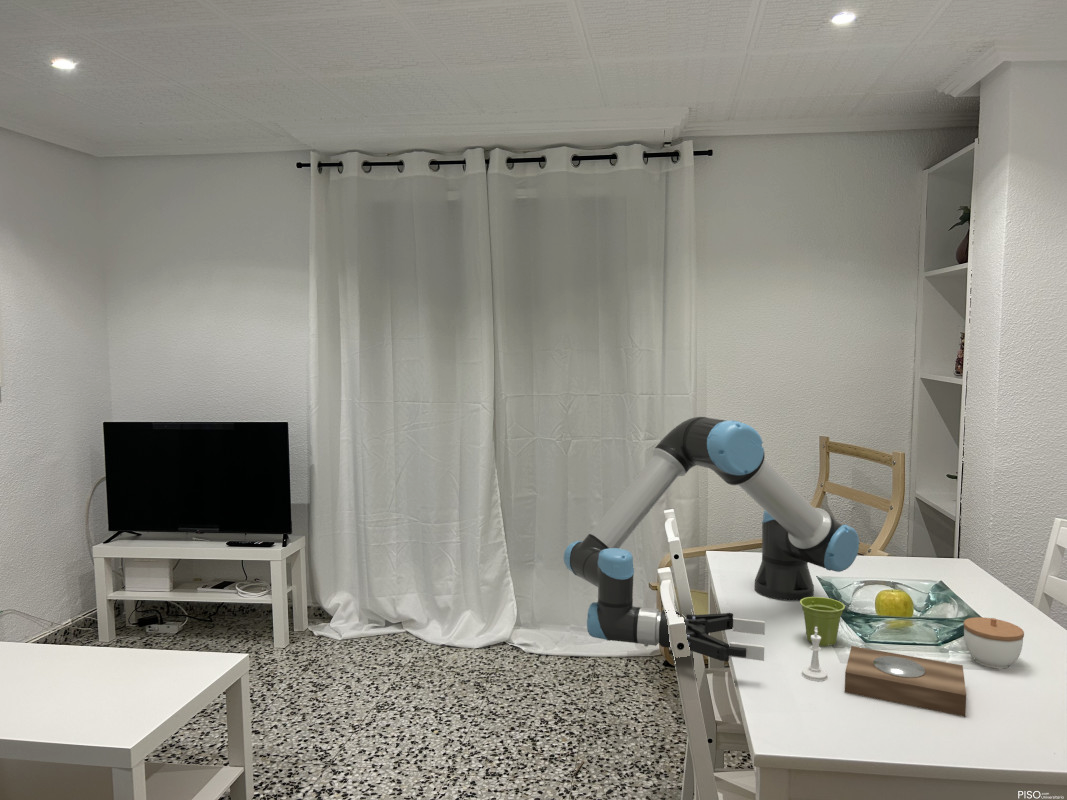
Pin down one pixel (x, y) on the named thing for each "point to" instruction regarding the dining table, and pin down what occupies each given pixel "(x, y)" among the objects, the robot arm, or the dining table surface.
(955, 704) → the walnut base
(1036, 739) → the dining table surface
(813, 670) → the chess piece
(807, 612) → the plant pot
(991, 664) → the lidded jar
